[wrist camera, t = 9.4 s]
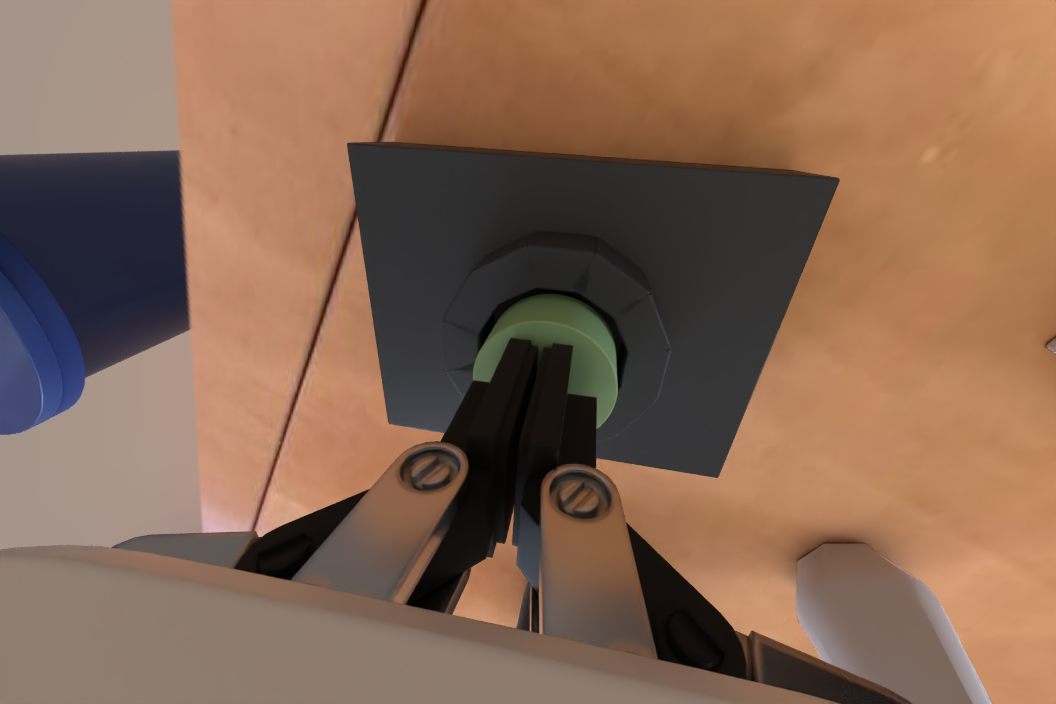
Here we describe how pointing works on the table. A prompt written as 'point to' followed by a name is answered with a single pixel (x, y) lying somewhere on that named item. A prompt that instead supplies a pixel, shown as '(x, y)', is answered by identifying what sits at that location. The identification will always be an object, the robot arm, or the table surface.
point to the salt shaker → (883, 626)
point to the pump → (561, 325)
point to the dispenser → (586, 278)
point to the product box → (1052, 346)
